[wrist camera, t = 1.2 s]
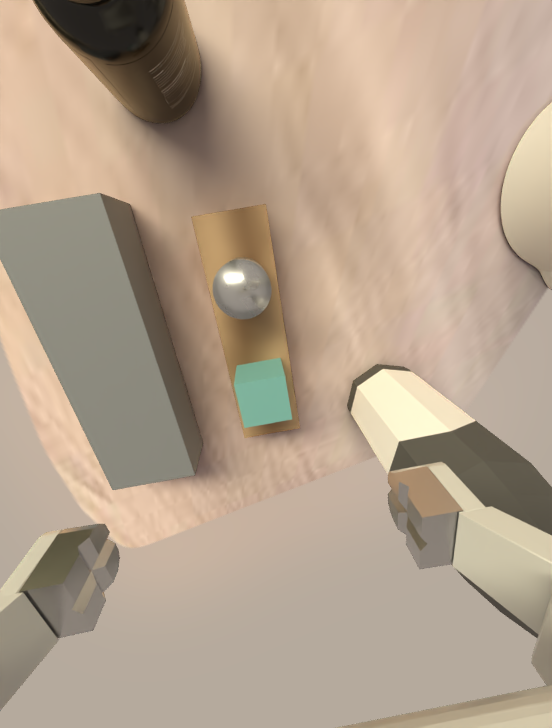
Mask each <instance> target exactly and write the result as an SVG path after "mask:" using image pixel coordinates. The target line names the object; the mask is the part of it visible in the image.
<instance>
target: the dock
mask: <svg viewBox="0 0 552 728" xmlns="http://www.w3.org/2000/svg"><path fill="white" fill-rule="evenodd" d="M0 260H1V262H2V264H3V266H4V268H5V270H6V272H7V274H8V276H9V278H10V280H11V282H12V284H13V286H14V288H15V291H16V293H17V295H18V297H19V299H20V301H21V303H22V305H23V307H24V309H25V311H26V313H27V315H28V317H29V319H30V321H31V323H32V325H33V328H34V330H35V332H36V334H37V336H38V338H39V340H40V342H41V344H42V346H43V348H44V350H45V352H46V354H47V356H48V358H49V360H50V362H51V365H52V367H53V369H54V371H55V373H56V375H57V377H58V379H59V381H60V383H61V385H62V387H63V389H64V391H65V393H66V395H67V397H68V399H69V402H70V404H71V406H72V408H73V410H74V412H75V414H76V416H77V418H78V420H79V422H80V424H81V426H82V428H83V430H84V432H85V434H86V436H87V439H88V441H89V443H90V445H91V447H92V449H93V451H94V453H95V455H96V457H97V459H98V461H99V463H100V465H101V467H102V469H103V471H104V473H105V476H106V478H107V480H108V482H109V484H110V486H111V488H112V490H117V489H122V488H128V487H133V486H139V485H144V484H150V483H156V482H161V481H167V480H172V479H178V478H183V477H189V476H194V475H195V473H196V469H197V465H198V461H199V457H200V454H201V450H202V446H203V441H202V438H201V435H200V432H199V428H198V425H197V422H196V419H195V415H194V412H193V409H192V406H191V402H190V399H189V396H188V393H187V389H186V386H185V383H184V380H183V376H182V373H181V370H180V367H179V363H178V360H177V357H176V354H175V350H174V347H173V344H172V340H171V337H170V334H169V331H168V327H167V324H166V321H165V318H164V314H163V311H162V308H161V305H160V301H159V298H158V295H157V292H156V288H155V285H154V282H153V279H152V275H151V272H150V269H149V266H148V262H147V259H146V256H145V253H144V249H143V246H142V243H141V240H140V236H139V233H138V230H137V227H136V223H135V220H134V217H133V213H132V210H131V207H130V204H128V203H126V202H123V201H120V200H118V199H115V198H112V197H109V196H107V195H104V194H101V193H97V194H91V195H85V196H79V197H73V198H67V199H61V200H55V201H49V202H43V203H37V204H31V205H25V206H19V207H13V208H7V209H1V210H0Z"/></svg>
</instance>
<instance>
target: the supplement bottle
mask: <svg viewBox="0 0 552 728" xmlns="http://www.w3.org/2000/svg"><path fill="white" fill-rule="evenodd" d="M33 2H34V4H35V6H36V7H37V9H38V10H39V12H40V14H41V15H42V16H43V18H44V19H45V21H46V22H47V23H48V24H49V25H50V27H51V28H52V29H53V30H54V31H55V33H56V34H57V35H58V36H59V37H60V38H61V39H62V41H63V42H64V43H65V44H66V45H67V46H68V47H69V48H70V49H71V50H72V51H73V52H74V53H75V55H76V56H77V57H78V58H79V59H80V60H81V61H82V62H83V63H84V64H85V65H86V66H87V67H88V69H89V70H90V71H91V72H92V73H93V74H94V75H95V76H96V77H97V78H98V79H99V80H100V81H101V82H102V84H103V85H104V86H105V87H106V88H107V89H108V90H109V91H110V92H111V93H112V94H113V95H114V96H115V98H116V99H117V100H118V101H119V102H120V103H121V104H122V105H123V106H124V107H125V108H127V109H128V110H129V111H130V112H131V113H133V114H134V115H136V116H137V117H139V118H141V119H143V120H146V121H148V122H152V123H168V122H172V121H175V120H177V119H179V118H180V117H182V116H183V115H184V114H185V113H186V112H187V111H188V110H189V109H190V108H191V106H192V105H193V103H194V101H195V99H196V97H197V94H198V91H199V87H200V82H201V61H200V54H199V50H198V46H197V42H196V38H195V35H194V31H193V28H192V25H191V21H190V18H189V14H188V11H187V7H186V4H185V1H184V0H33Z"/></svg>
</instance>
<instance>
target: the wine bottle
mask: <svg viewBox="0 0 552 728" xmlns="http://www.w3.org/2000/svg"><path fill="white" fill-rule="evenodd" d="M347 406H348V409H349V411H350V413H351V414H352V416H353V418H354V419H355V421H356V423H357V424H358V426H359V428H360V429H361V431H362V432H363V434H364V436H365V437H366V439H367V441H368V442H369V444H370V446H371V447H372V449H373V451H374V452H375V454H376V456H377V457H378V459H379V461H380V462H381V464H382V465H383V467H384V469H385V471H386V472H387V474H389V472H390V471H395V470H400V469H405V468H411V467H416V466H421V465H422V466H423V465H426V464H432V463H437V462H443V463H445V464H446V465H447V466H448V467H449V468H450V469H451V471H452V472H453V473H454V474H455V475H456V476H457V477H458V478H459V479H460V480H461V481H462V482H463V483H464V484H465V486H466V487H467V488H468V489H469V490H470V491H471V492H472V493H473V494H474V495H475V496H476V497H477V498H478V499H479V501H480V502H481V503H482V504H483V505H484V506H485V507H491V506H492V507H494V508H496V509H498V510H500V511H502V512H504V513H506V514H508V515H510V516H512V517H514V518H517V519H519V520H521V521H523V522H525V523H527V524H529V525H531V526H533V527H535V528H537V529H539V530H541V531H543V532H545V533H548V534H550V535H552V487H551V486H550V485H549V484H548V482H547V481H546V480H545V479H544V478H543V477H542V475H541V474H540V473H539V472H538V471H537V470H536V468H535V467H534V466H533V465H532V464H531V463H530V462H529V461H527V460H526V459H525V458H523V457H522V456H521V455H520V454H518V453H517V452H516V451H514V450H513V449H512V448H510V447H509V446H508V445H507V444H505V443H504V442H503V441H501V440H500V439H499V438H497V437H496V436H495V435H493V434H492V433H491V432H490V431H488V430H487V429H486V428H484V427H483V426H482V425H480V424H479V423H478V422H477V421H475V420H474V419H473V418H471V417H470V416H469V415H467V414H466V413H465V412H464V411H462V410H461V409H460V408H458V407H457V406H456V405H454V404H453V403H452V402H451V401H449V400H448V399H447V398H445V397H444V396H443V395H441V394H440V393H439V392H438V391H436V390H435V389H434V388H432V387H431V386H430V385H428V384H427V383H426V382H425V381H423V380H422V379H421V378H419V377H418V376H417V375H415V374H414V373H413V372H411V371H410V370H409V369H407V368H405V367H399V366H389V365H379V364H377V365H375V366H374V367H372V368H371V369H370V370H368V371H367V372H365V373H364V374H362V375H361V376H360V377H358V378H357V379H355V380H354V381H353V384H352V388H351V392H350V396H349V400H348V404H347ZM451 565H452V566H453V564H451ZM455 569H456V568H455ZM456 570H457V569H456ZM457 571H458V570H457ZM458 572H459V571H458ZM459 573H460V575H461V576H462V577H463V578H464V579H465V580H466V581H467V582H468V583H469V584H470V585H472V586H473V587H474V588H475V589H476V590H477V591H478V592H479V593H480V594H481V595H483V596H484V597H485V598H486V599H487V600H488V601H489V602H490V603H491V604H492V605H494V606H495V607H496V608H497V609H498V610H499V611H500V612H502V613H503V614H504V615H506V616H507V617H508V618H510V619H511V620H513V621H514V622H515V623H517V624H518V625H520V626H521V627H522V628H524V629H525V630H526V631H528V632H529V633H531V634H532V635H534V636H535V637H536V638H538V634H537V633H536V632H535V631H533V630H532V629H531V628H530V627H528V626H527V625H526V624H525V623H523V622H522V621H521V620H520V619H518V618H517V617H516V616H515V615H513V614H512V613H511V612H510V611H508V610H507V609H506V608H505V607H503V606H502V605H501V604H500V603H498V602H497V601H496V600H495V599H493V598H492V597H491V596H490V595H488V594H487V593H486V592H485V591H483V590H482V589H481V588H479V587H478V586H477V585H476V584H474V583H473V582H472V581H471V580H469V579H468V578H467V577H466V576H464V575H463V574H462V573H461V572H459Z"/></svg>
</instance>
